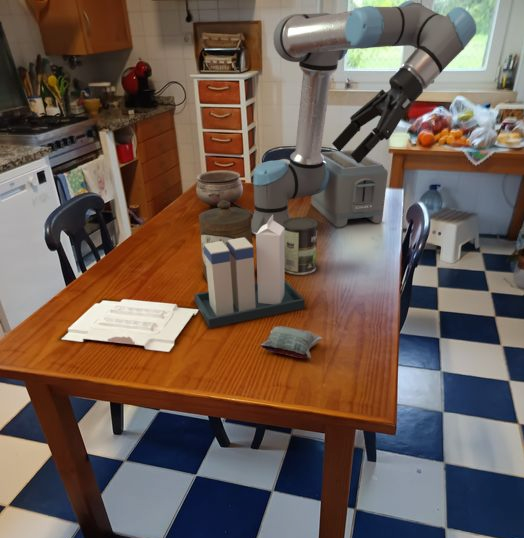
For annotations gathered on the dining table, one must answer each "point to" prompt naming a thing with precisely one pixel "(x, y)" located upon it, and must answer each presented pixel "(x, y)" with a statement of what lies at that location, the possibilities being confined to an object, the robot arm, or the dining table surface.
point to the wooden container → (224, 226)
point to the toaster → (351, 189)
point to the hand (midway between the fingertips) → (344, 153)
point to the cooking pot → (219, 187)
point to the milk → (270, 262)
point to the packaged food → (291, 341)
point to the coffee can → (300, 245)
